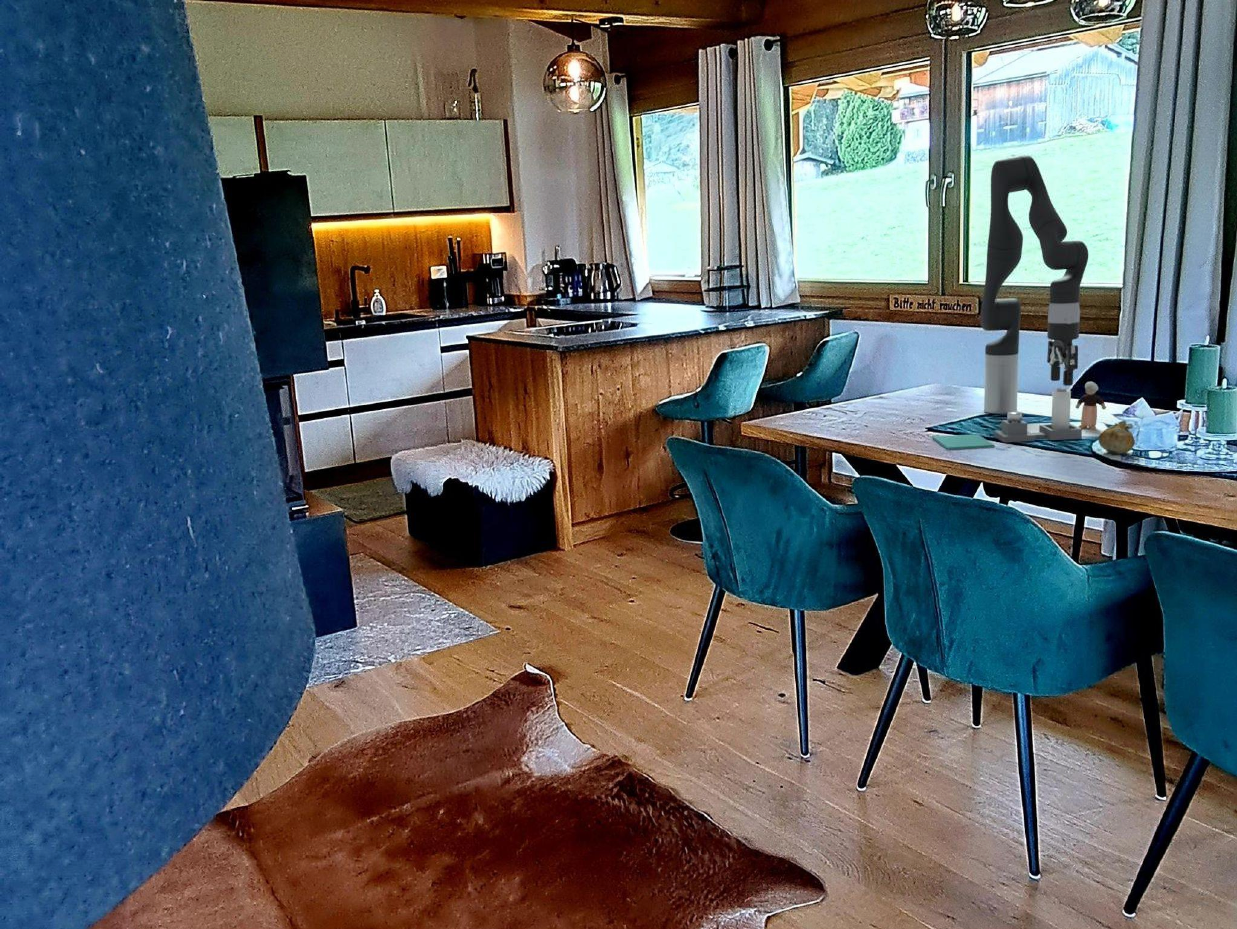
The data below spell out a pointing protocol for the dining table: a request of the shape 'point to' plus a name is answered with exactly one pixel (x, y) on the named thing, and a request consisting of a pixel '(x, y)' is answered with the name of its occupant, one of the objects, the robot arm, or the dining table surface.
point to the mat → (963, 442)
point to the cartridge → (1061, 409)
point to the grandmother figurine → (1090, 406)
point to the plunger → (1014, 417)
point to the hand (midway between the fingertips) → (1061, 383)
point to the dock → (1020, 433)
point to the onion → (1117, 438)
